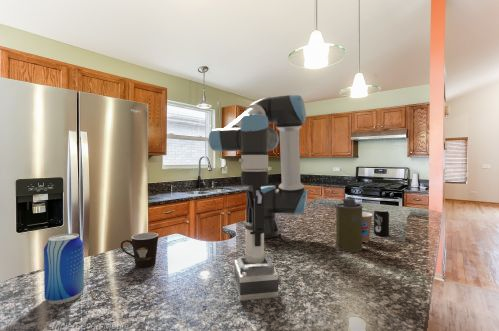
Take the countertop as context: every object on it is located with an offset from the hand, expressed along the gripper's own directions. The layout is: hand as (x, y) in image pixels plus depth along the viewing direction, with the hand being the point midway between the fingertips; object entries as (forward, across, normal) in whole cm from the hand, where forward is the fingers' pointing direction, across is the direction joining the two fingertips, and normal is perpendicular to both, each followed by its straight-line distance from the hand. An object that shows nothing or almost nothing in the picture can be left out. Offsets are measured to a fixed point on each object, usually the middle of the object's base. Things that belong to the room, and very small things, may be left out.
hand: (254, 253), depth 75 cm
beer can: (+10, -4, -50) cm, 51 cm away
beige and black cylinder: (+2, 0, 0) cm, 2 cm away
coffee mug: (+10, -24, -35) cm, 44 cm away
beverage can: (+10, -41, +70) cm, 82 cm away
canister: (+10, -27, +45) cm, 54 cm away
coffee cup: (+10, -35, +55) cm, 66 cm away
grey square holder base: (+10, 0, 0) cm, 10 cm away
